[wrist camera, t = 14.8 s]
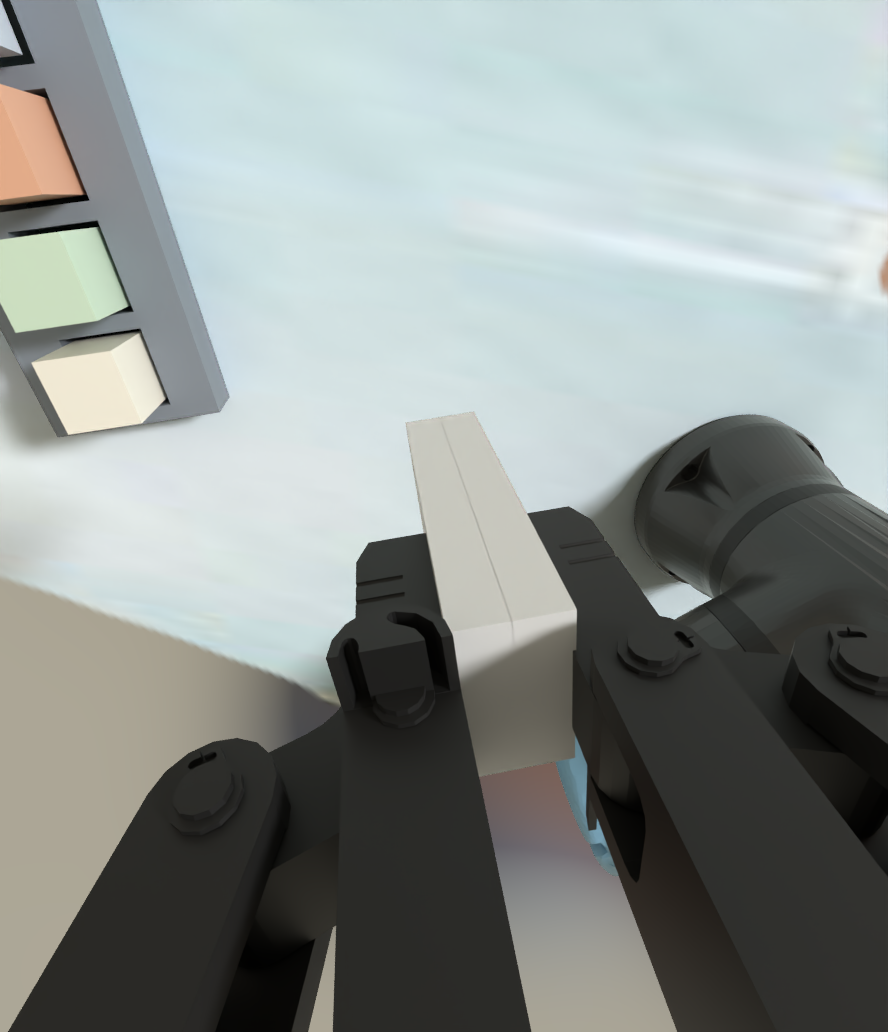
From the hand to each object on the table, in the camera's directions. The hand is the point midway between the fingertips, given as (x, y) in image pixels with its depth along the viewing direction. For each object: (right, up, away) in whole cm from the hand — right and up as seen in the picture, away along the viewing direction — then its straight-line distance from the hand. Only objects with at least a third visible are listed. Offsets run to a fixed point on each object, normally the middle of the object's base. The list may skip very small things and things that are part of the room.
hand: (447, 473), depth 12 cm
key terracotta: (-21, +17, +15) cm, 31 cm away
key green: (-20, +13, +18) cm, 30 cm away
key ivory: (-20, +8, +21) cm, 30 cm away
